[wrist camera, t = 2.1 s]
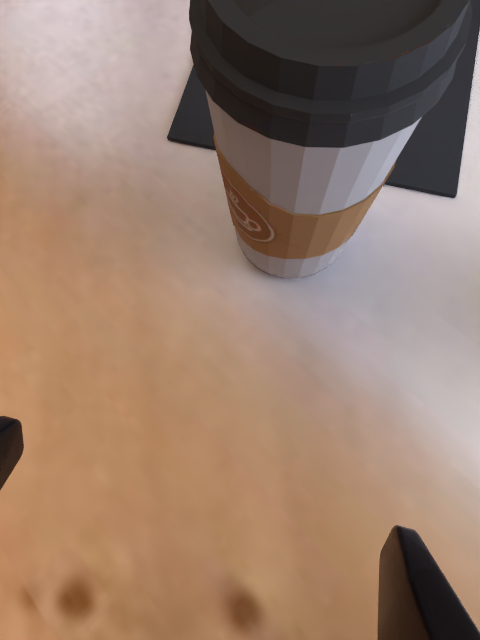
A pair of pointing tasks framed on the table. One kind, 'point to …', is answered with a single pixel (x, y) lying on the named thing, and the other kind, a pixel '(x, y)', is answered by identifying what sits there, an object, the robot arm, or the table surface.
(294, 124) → the coffee cup
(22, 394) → the table surface
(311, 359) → the table surface
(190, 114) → the mat
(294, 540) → the table surface
